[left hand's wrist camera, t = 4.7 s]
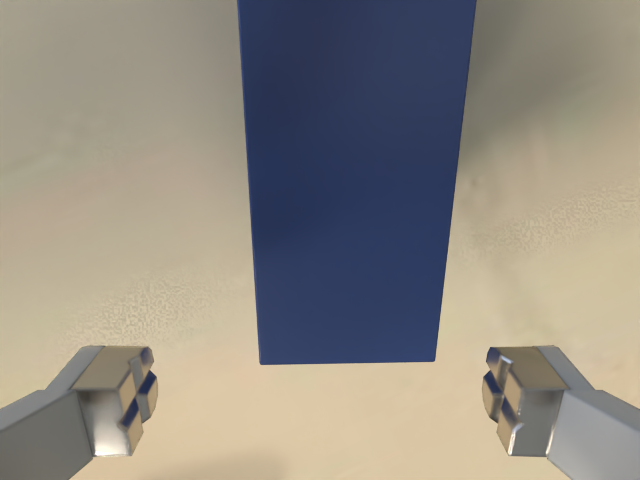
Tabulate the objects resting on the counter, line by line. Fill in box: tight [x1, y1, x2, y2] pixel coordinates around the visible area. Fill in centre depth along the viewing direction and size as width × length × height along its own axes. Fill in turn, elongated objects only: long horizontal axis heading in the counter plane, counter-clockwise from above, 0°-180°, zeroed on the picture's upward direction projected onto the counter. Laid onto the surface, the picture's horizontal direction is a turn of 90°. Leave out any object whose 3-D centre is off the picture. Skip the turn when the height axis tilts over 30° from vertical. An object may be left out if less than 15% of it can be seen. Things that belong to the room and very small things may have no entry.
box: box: [237, 0, 477, 365], centre depth 17 cm, size 22×6×13 cm, turn 0°
